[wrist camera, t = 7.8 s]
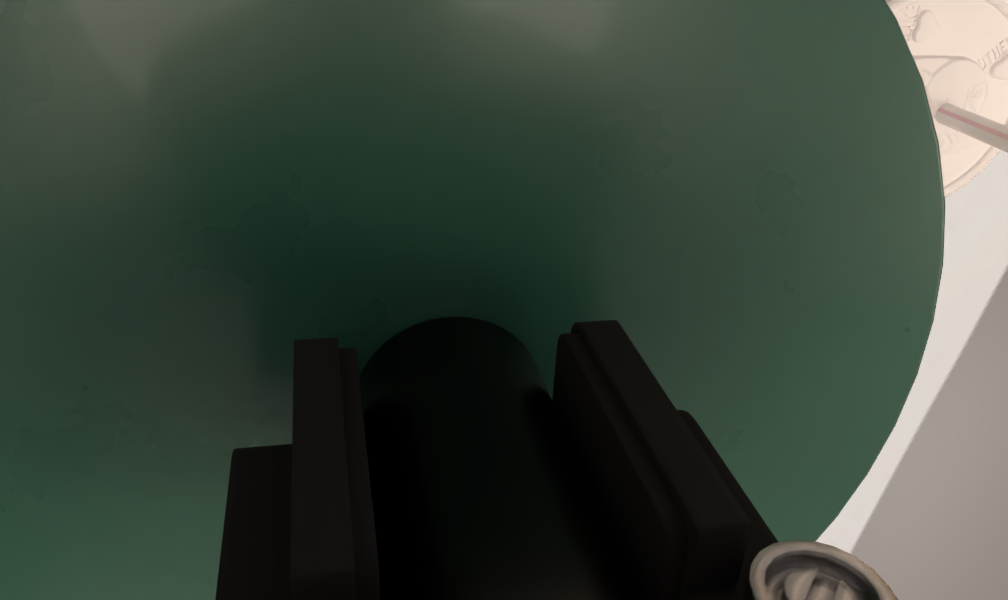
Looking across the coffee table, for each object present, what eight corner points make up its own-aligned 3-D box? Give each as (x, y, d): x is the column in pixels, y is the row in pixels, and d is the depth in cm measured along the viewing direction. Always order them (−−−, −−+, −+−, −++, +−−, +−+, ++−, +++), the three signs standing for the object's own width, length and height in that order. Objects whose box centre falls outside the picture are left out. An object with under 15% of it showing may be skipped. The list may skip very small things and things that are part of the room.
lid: (-497, 38, 9) (-2030, 413, 3) (857, -440, 9) (1776, -908, 4) (198, 796, 16) (142, 1311, 11) (918, 513, 17) (1236, 857, 11)
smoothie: (773, 148, 33) (1039, 317, 21) (644, 74, 31) (864, 218, 19) (874, -4, 31) (1233, 89, 19) (745, -96, 29) (1064, -57, 17)
